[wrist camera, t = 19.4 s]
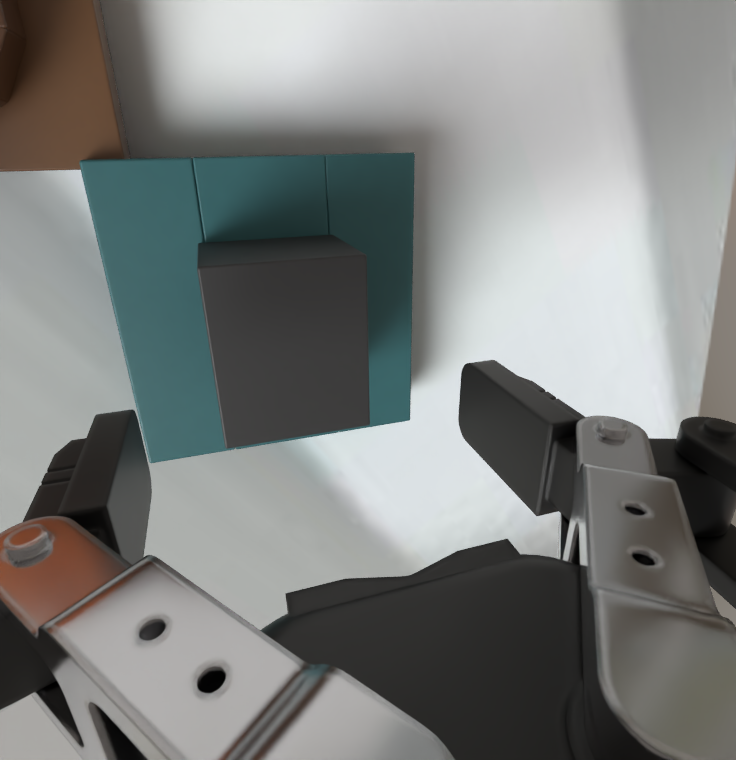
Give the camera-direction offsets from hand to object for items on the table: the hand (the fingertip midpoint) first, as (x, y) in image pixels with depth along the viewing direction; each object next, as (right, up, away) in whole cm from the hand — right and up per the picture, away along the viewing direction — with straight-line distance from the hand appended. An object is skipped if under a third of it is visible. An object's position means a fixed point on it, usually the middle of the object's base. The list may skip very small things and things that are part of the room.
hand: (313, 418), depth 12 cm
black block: (-3, +4, +10) cm, 11 cm away
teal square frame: (-3, +4, +10) cm, 11 cm away
